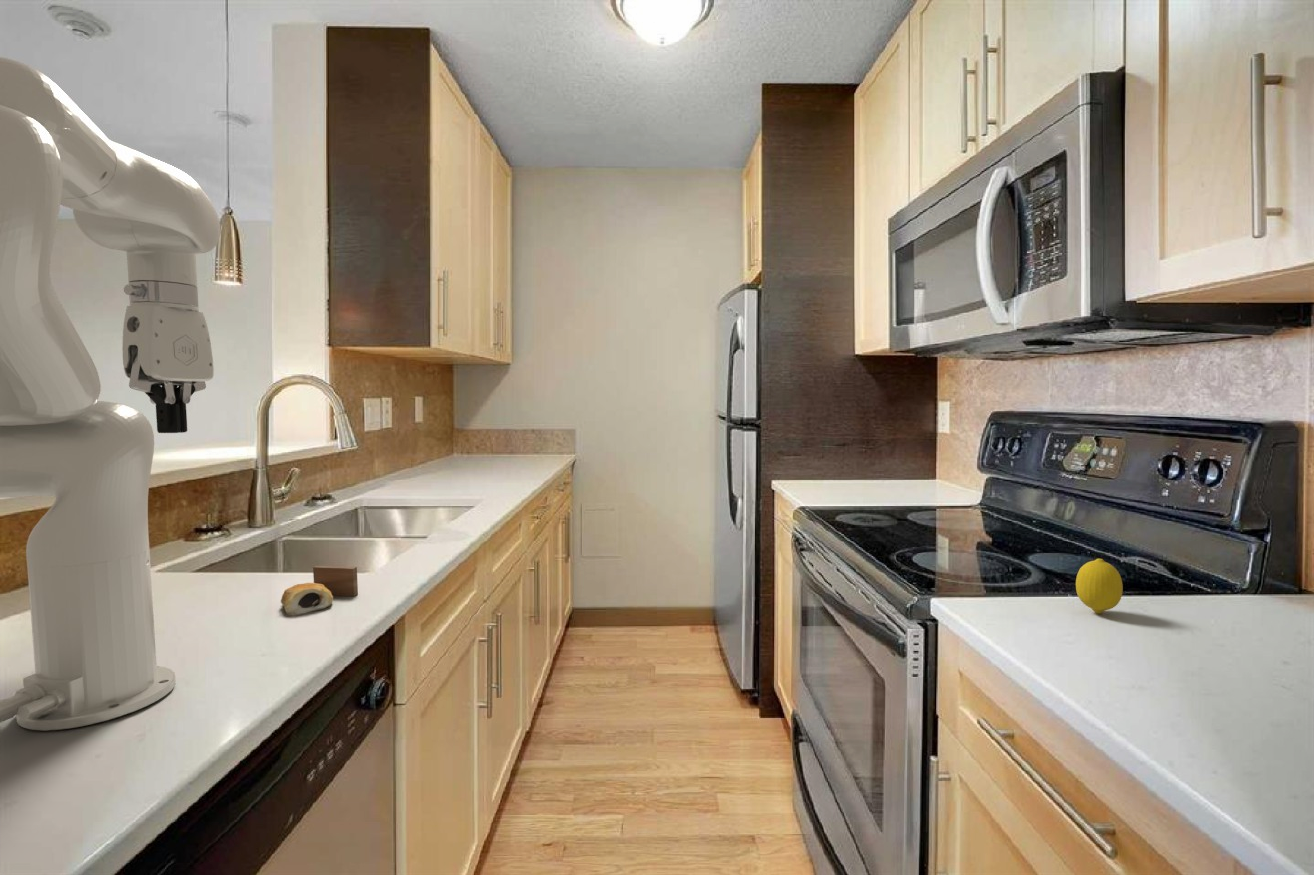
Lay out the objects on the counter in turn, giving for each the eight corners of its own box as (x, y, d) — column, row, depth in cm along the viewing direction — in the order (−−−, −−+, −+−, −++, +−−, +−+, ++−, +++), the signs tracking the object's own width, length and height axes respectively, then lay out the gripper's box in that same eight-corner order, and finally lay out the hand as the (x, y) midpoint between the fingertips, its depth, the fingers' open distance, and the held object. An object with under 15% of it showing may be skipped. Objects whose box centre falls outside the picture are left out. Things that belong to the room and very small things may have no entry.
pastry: (275, 602, 100) (274, 578, 100) (323, 594, 104) (322, 571, 104) (286, 618, 93) (285, 592, 93) (337, 609, 97) (336, 584, 97)
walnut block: (354, 596, 102) (353, 568, 102) (314, 594, 103) (313, 567, 103) (357, 594, 103) (356, 567, 103) (318, 592, 104) (317, 565, 104)
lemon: (1114, 623, 88) (1116, 565, 87) (1068, 612, 92) (1070, 558, 92) (1126, 614, 91) (1129, 559, 91) (1082, 604, 96) (1084, 551, 95)
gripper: (136, 289, 80) (145, 436, 81) (232, 305, 95) (239, 429, 96) (85, 291, 81) (94, 436, 82) (187, 307, 96) (194, 429, 97)
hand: (172, 432), depth 89 cm, fingers closed
